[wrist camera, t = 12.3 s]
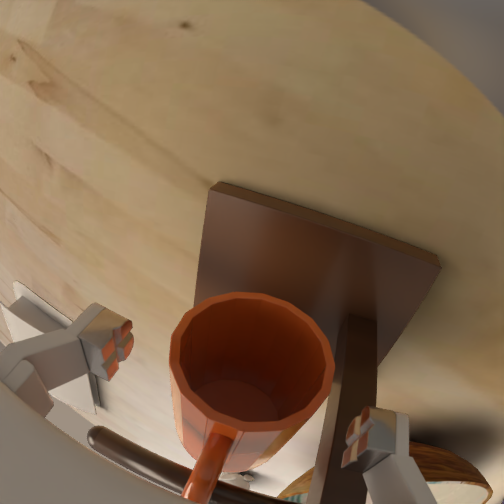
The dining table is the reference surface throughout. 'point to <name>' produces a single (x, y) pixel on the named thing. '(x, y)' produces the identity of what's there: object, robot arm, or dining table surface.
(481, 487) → the bowl
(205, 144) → the dining table surface
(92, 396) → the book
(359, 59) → the dining table surface
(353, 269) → the stand
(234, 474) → the cream rounded piece
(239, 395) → the cup
